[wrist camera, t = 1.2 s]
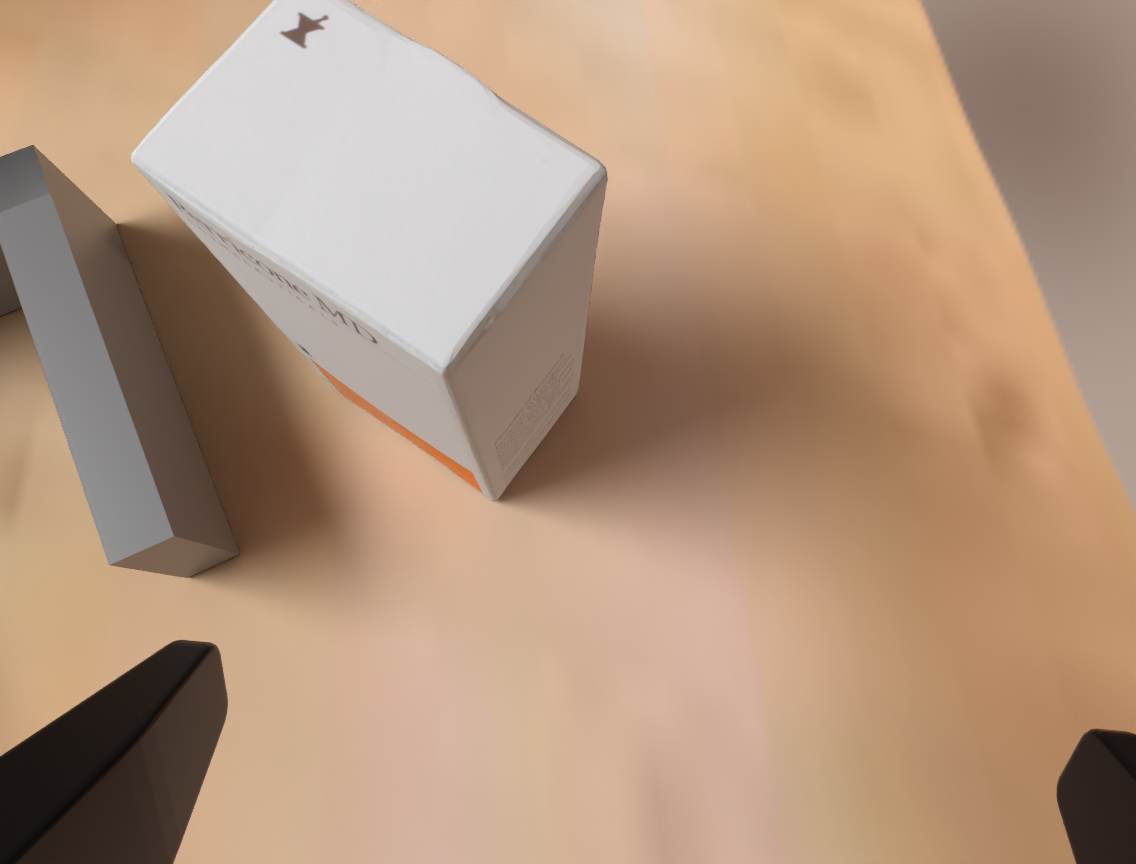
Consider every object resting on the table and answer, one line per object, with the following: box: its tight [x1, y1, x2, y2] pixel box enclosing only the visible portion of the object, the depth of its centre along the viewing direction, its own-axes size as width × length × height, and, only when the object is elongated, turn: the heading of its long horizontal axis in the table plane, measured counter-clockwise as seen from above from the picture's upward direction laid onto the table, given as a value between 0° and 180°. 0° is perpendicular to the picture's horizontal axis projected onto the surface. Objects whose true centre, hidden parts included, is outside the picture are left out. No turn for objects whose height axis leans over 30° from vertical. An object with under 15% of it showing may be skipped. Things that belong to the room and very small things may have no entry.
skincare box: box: [131, 0, 608, 501], centre depth 18 cm, size 6×4×12 cm
